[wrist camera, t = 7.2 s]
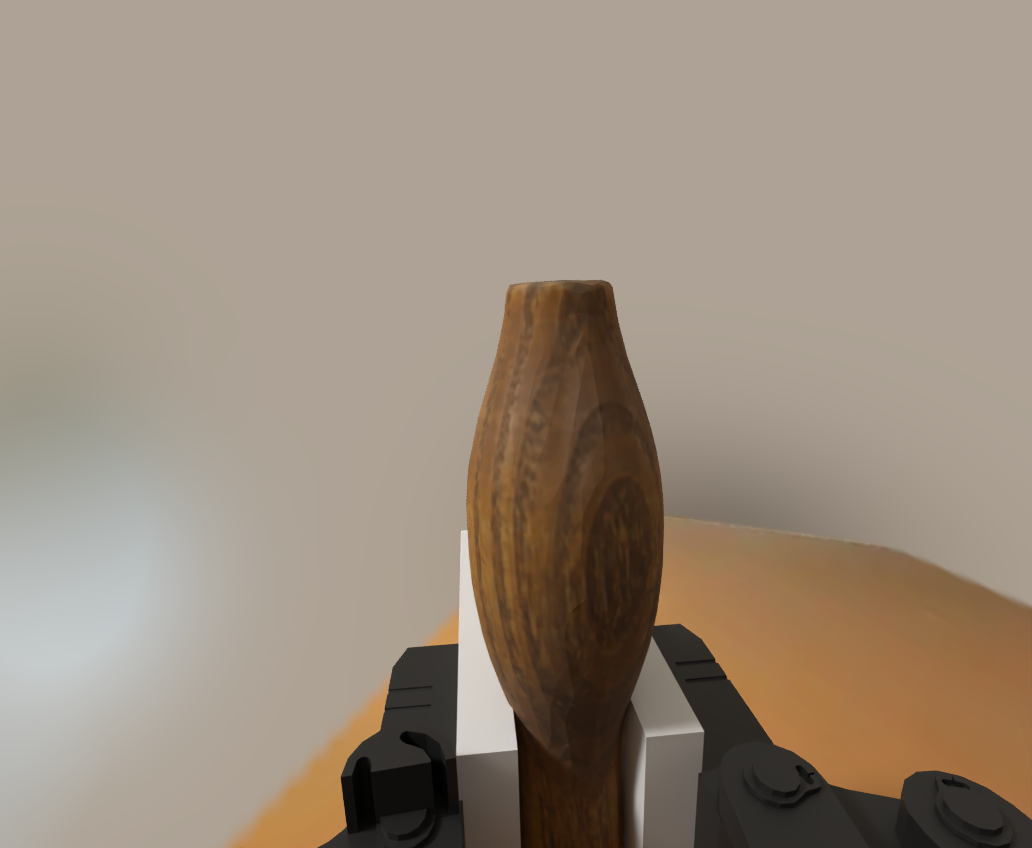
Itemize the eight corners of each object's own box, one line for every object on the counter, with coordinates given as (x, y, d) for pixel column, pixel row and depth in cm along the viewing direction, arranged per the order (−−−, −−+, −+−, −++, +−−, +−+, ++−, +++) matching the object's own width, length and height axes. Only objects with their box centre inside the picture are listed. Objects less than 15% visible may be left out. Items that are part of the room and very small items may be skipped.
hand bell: (232, 1329, 8) (-37, 294, 5) (502, 859, 15) (477, 289, 12) (842, 2250, 4) (2108, 131, 1) (835, 1049, 11) (956, 272, 8)
